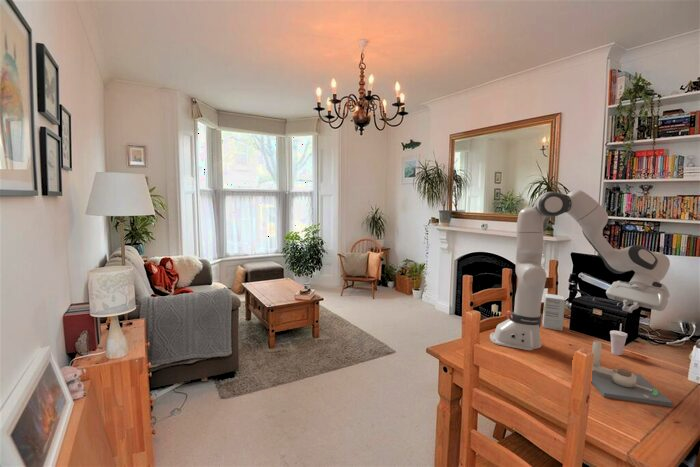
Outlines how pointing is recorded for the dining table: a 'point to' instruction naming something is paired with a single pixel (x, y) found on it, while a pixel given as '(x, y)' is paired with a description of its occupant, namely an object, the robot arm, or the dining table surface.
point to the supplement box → (553, 312)
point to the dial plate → (629, 390)
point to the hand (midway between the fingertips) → (626, 310)
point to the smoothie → (617, 341)
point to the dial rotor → (619, 375)
